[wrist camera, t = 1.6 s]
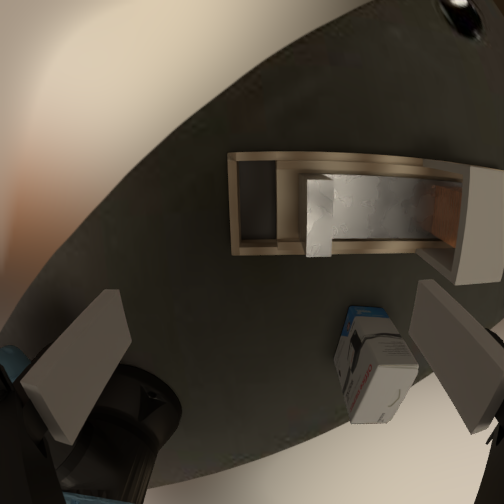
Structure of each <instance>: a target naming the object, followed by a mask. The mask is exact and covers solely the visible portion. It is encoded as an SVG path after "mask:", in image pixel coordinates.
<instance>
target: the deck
mask: <svg viewBox="0 0 504 504" xmlns="http://www.w3.org/2000/svg"><path fill="white" fill-rule="evenodd" d="M227 157H228V184H229V209H230V231H231V252H232V255H304V254H305V253H304V250H303V247H302V245H301V242H300V239H299V237H298V216H299V173H325V174H359V175H380V176H397V177H411V178H424V179H435V180H446V181H455V182H462V183H463V175H462V174H458V173H453V172H448V171H443V170H438V169H433V168H428V167H423V159H422V158H413V157H402V156H391V155H378V154H362V153H342V152H308V151H265V152H230V153H227ZM429 160H431V159H429ZM436 161H440V160H436ZM443 162H447V161H443ZM450 163H455V162H450ZM456 164H462V163H456ZM467 165H469V164H467ZM473 166H475V165H473ZM478 167H481V166H478ZM484 168H487V167H484ZM489 169H493V168H489ZM494 170H498V169H494ZM499 171H503V170H499ZM427 248H454V247H452V246H451V245H449V244H447V243H446V242H444V241H443V240H441V239H439V238H339V239H332V250H331V254H370V253H415V251H416V249H427Z"/></svg>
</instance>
